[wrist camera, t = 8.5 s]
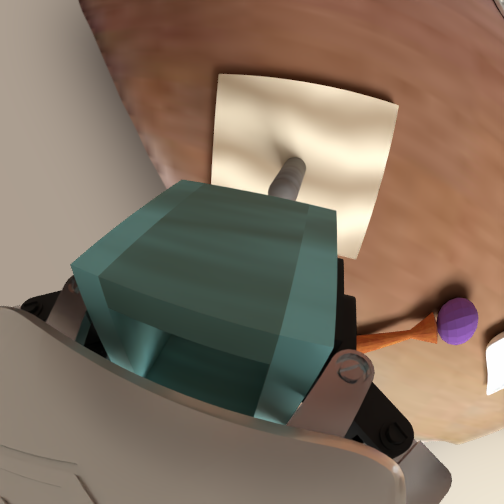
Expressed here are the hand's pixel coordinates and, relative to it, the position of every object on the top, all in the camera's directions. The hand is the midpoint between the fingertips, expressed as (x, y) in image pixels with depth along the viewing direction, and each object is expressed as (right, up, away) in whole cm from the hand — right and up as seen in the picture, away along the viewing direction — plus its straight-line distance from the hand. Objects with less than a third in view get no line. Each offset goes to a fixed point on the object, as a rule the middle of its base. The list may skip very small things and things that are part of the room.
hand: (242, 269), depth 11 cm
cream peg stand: (+5, +9, +14) cm, 17 cm away
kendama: (+21, -9, +21) cm, 31 cm away
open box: (0, 0, +1) cm, 1 cm away
